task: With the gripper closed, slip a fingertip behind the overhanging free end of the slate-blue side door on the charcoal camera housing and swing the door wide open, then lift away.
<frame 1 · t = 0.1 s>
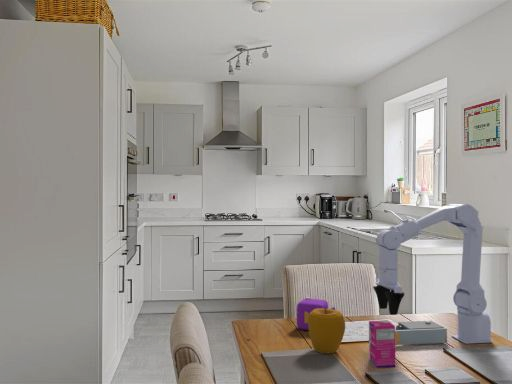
hand: (388, 311, 153), 10 cm above the table, tool pointing down, fingers open, 7 cm apart
camera housing: (420, 340, 156), on the table
apple: (326, 351, 145), on the table
side door: (419, 336, 150), point 3 cm above the table, hinge at 0.0°
toy camera: (317, 329, 169), on the table
supplement box: (381, 364, 134), on the table
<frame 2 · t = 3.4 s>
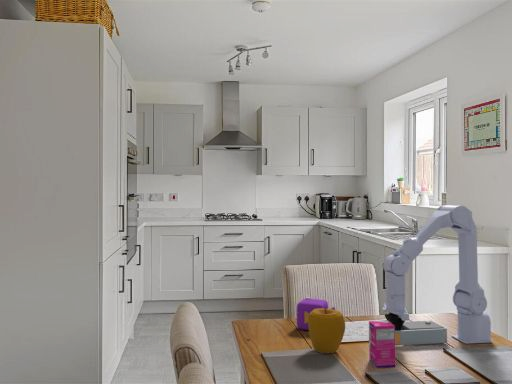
hand: (395, 337, 151), 2 cm above the table, tool pointing down, fingers closed
side door: (419, 337, 150), point 3 cm above the table, hinge at 1.5°, touching gripper
everything else where it was.
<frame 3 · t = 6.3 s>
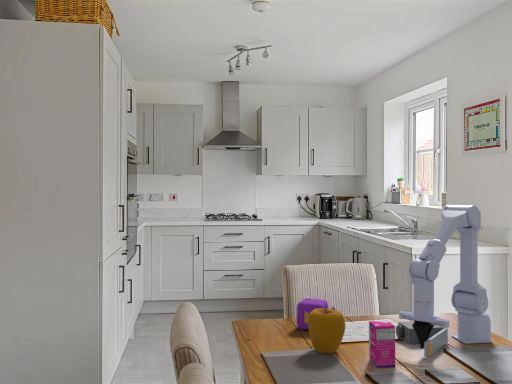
hand: (423, 347, 141), 2 cm above the table, tool pointing down, fingers closed
side door: (437, 342, 145), point 3 cm above the table, hinge at 42.8°, touching gripper
everything else where it was.
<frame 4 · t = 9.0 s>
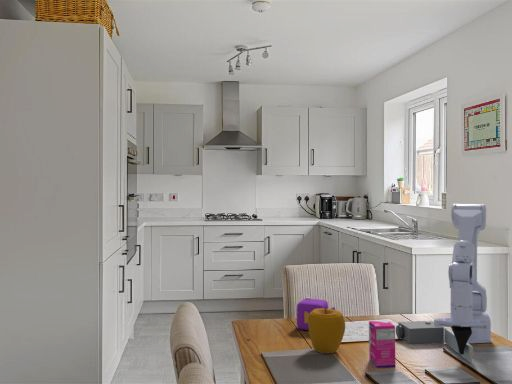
hand: (461, 353, 136), 2 cm above the table, tool pointing down, fingers closed
side door: (458, 343, 144), point 3 cm above the table, hinge at 81.1°, touching gripper
everything else where it was.
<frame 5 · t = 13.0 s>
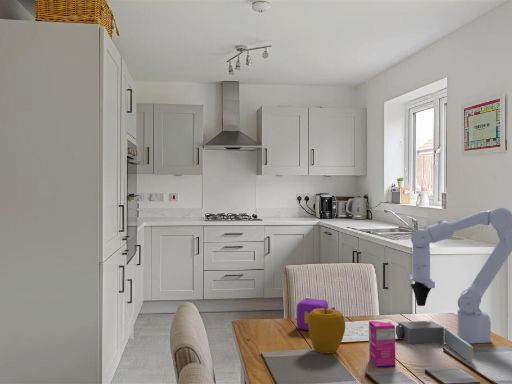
hand: (421, 305, 163), 9 cm above the table, tool pointing down, fingers closed
side door: (458, 343, 144), point 3 cm above the table, hinge at 81.2°
everything else where it was.
at the end: side door at +81° (first picture: +0°); toy camera moved 0.3 cm from its start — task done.
